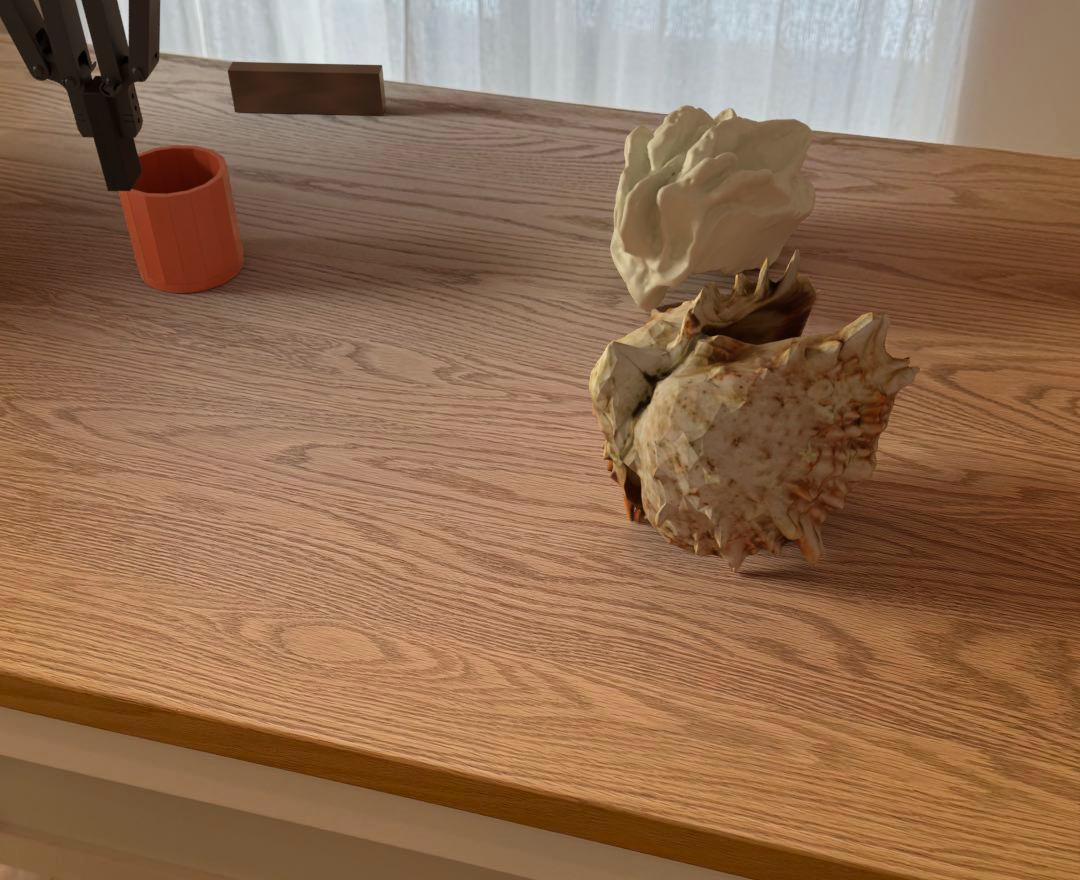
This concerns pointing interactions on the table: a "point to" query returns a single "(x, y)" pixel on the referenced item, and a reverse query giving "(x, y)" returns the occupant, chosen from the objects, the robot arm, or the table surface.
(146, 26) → the robot arm
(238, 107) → the side rail
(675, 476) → the seashell
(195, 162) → the cup
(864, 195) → the table surface
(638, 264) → the wavy plaster lump
